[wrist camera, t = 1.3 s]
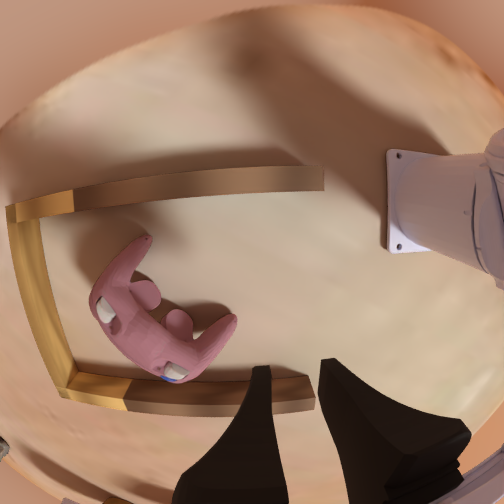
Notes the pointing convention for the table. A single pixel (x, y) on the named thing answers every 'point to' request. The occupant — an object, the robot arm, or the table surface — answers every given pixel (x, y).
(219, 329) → the video game controller
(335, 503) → the table surface
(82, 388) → the bay
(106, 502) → the plant pot
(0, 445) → the mineral rock
